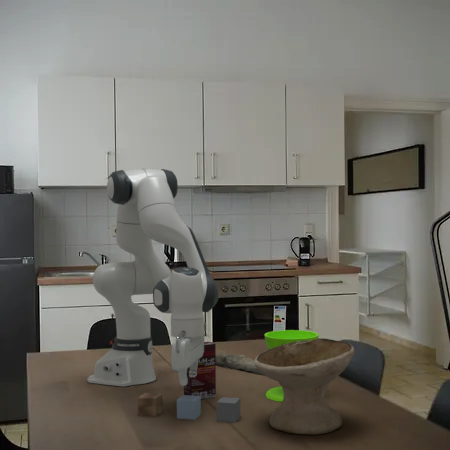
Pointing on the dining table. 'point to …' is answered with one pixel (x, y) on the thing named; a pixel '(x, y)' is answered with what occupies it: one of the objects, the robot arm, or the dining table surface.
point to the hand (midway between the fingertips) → (188, 380)
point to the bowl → (305, 383)
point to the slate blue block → (188, 407)
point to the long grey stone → (237, 362)
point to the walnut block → (150, 405)
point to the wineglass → (279, 339)
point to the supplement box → (204, 374)
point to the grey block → (228, 409)
